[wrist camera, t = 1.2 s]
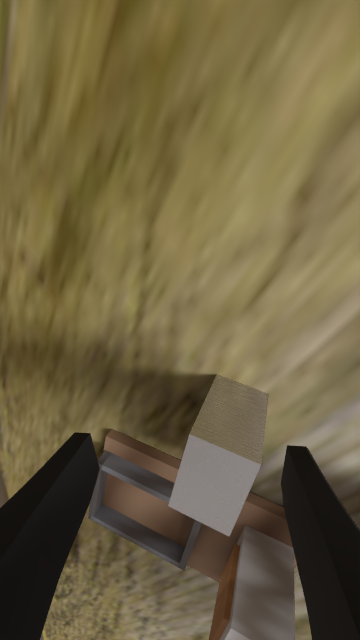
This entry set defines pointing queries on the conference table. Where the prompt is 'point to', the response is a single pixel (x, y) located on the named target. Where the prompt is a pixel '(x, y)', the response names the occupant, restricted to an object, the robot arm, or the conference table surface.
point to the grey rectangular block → (222, 455)
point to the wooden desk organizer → (202, 540)
